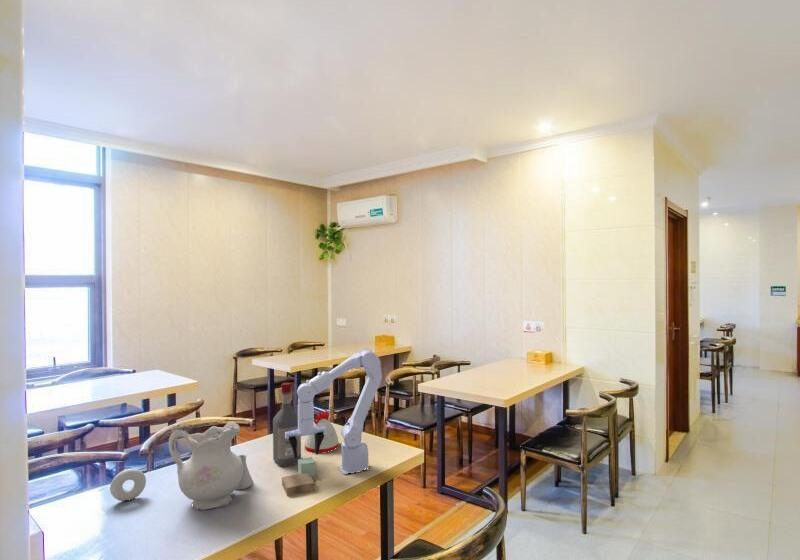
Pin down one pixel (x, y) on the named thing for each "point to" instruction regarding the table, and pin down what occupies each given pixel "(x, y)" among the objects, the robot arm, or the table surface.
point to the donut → (126, 475)
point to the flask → (245, 475)
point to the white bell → (329, 437)
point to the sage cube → (306, 466)
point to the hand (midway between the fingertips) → (306, 455)
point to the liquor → (285, 430)
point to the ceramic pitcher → (208, 465)
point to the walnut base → (297, 483)
